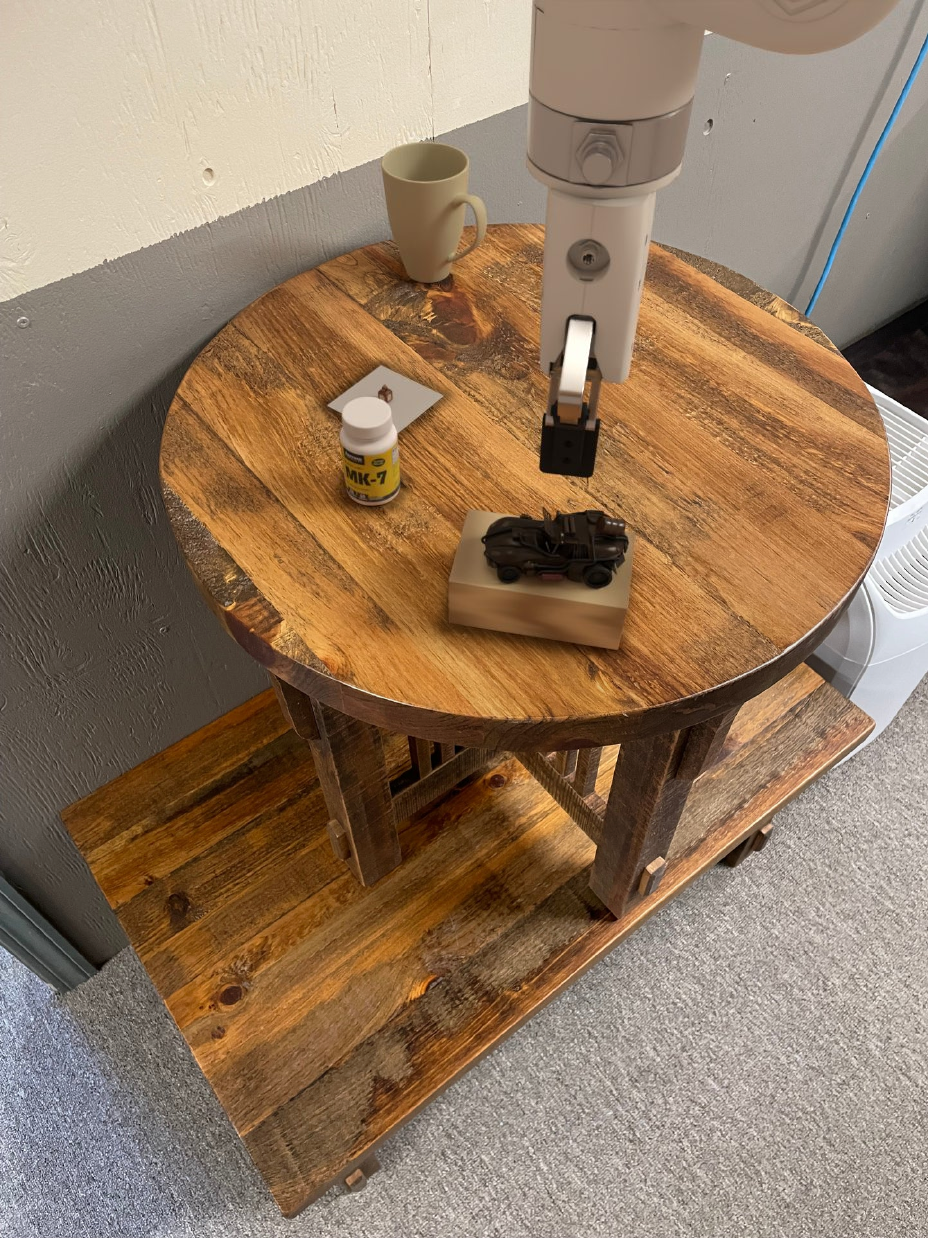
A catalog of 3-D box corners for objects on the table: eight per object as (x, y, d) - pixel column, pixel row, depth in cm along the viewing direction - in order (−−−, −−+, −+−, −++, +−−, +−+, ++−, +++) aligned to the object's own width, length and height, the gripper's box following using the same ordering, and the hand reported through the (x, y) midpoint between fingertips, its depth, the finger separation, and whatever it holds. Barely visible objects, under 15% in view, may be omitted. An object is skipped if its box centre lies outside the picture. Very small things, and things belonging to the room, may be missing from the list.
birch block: (625, 575, 70) (635, 532, 66) (617, 650, 65) (627, 609, 61) (467, 551, 71) (468, 508, 67) (448, 623, 66) (448, 581, 63)
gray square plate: (326, 405, 83) (324, 389, 81) (381, 365, 87) (379, 349, 85) (391, 439, 80) (389, 422, 78) (444, 395, 84) (443, 379, 82)
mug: (384, 297, 94) (375, 185, 85) (392, 249, 100) (385, 140, 91) (484, 299, 94) (487, 188, 84) (486, 251, 100) (489, 142, 90)
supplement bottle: (341, 504, 74) (329, 427, 68) (352, 467, 77) (342, 390, 71) (395, 510, 74) (389, 433, 67) (405, 472, 77) (400, 395, 70)
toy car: (630, 589, 62) (641, 547, 59) (464, 591, 62) (464, 550, 58) (619, 527, 66) (628, 485, 62) (462, 529, 66) (462, 487, 62)
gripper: (679, 227, 35) (624, 525, 49) (692, 65, 46) (644, 346, 59) (497, 213, 36) (493, 508, 49) (551, 57, 47) (535, 336, 60)
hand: (575, 420), depth 54 cm, fingers open, 9 cm apart
